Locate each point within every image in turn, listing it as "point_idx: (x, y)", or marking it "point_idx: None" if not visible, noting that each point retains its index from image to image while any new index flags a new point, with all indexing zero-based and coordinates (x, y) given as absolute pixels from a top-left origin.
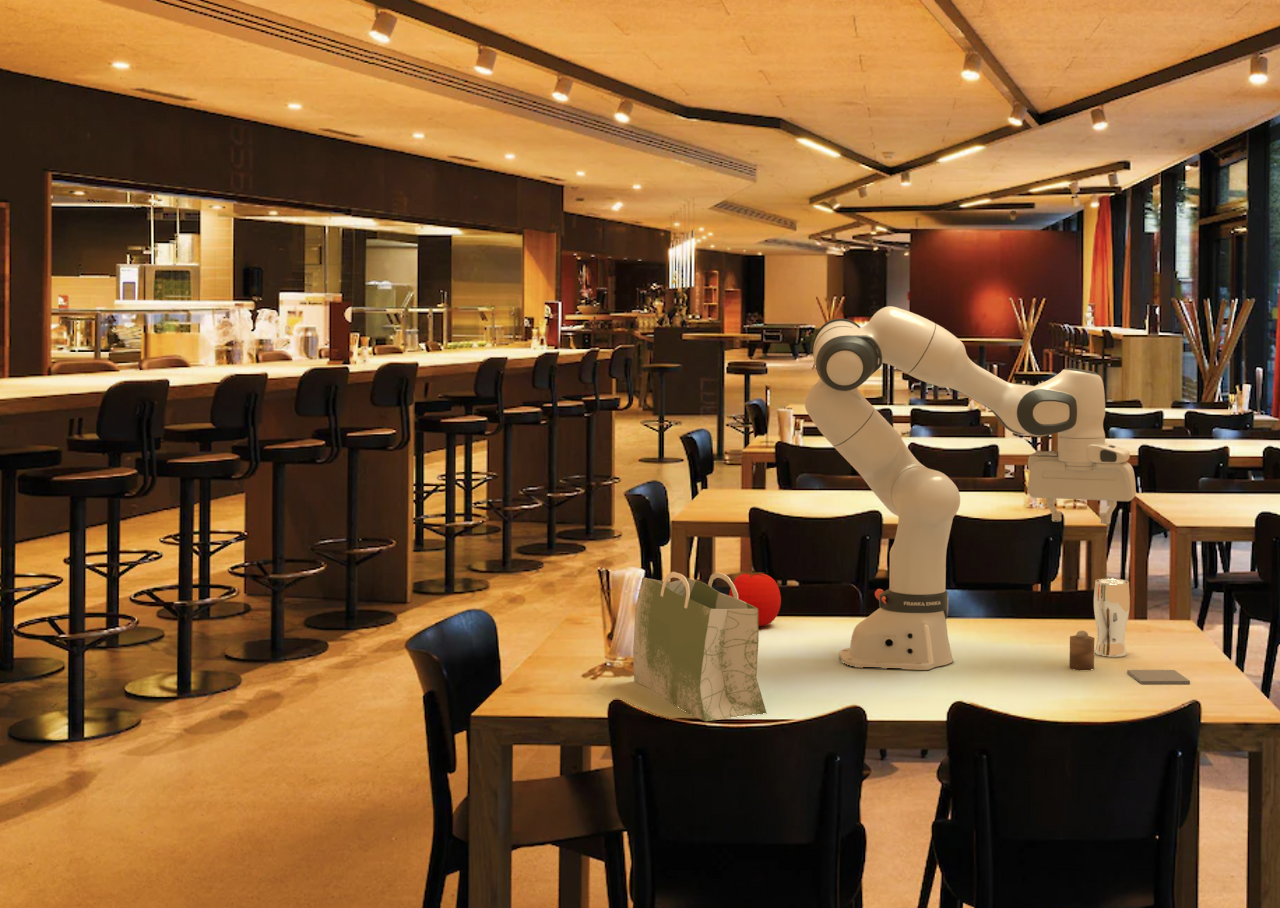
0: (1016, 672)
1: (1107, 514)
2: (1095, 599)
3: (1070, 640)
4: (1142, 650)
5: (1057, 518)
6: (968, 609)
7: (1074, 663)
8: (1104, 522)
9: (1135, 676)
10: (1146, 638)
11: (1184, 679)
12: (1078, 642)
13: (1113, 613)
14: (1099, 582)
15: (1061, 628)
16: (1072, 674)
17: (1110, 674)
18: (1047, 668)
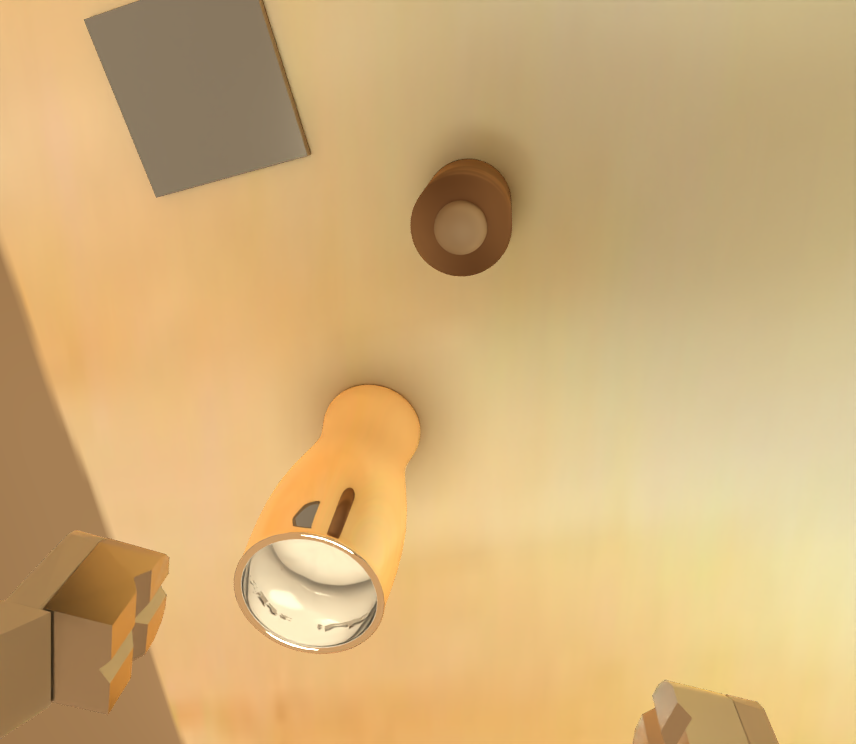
0: (725, 59)
1: (13, 606)
2: (394, 522)
3: (509, 208)
4: None
5: (700, 707)
6: None
7: (494, 171)
8: (119, 544)
9: (272, 45)
10: None
11: (104, 40)
12: (477, 175)
13: (329, 455)
14: (363, 562)
15: (513, 715)
16: (504, 80)
17: (366, 118)
18: (593, 165)
